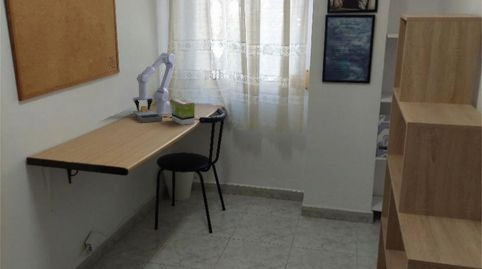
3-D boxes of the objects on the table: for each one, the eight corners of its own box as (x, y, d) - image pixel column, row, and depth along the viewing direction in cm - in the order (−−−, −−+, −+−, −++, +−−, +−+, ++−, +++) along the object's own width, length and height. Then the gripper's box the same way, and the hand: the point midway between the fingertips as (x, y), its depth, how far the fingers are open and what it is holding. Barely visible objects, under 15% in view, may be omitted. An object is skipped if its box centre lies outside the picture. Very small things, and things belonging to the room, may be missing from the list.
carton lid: (152, 110, 324) (152, 105, 323) (158, 114, 314) (158, 108, 313) (133, 112, 317) (133, 106, 316) (138, 116, 307) (138, 110, 306)
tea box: (171, 120, 311) (171, 99, 307) (183, 118, 317) (183, 98, 313) (182, 125, 299) (182, 103, 295) (195, 123, 305) (195, 102, 301)
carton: (156, 117, 318) (156, 113, 317) (162, 121, 308) (162, 116, 307) (136, 119, 311) (136, 114, 310) (142, 123, 301) (142, 118, 300)
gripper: (134, 92, 308) (135, 112, 312) (154, 91, 315) (155, 110, 319) (131, 91, 314) (132, 110, 318) (151, 89, 321) (151, 108, 325)
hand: (143, 110), depth 319 cm, fingers open, 7 cm apart
